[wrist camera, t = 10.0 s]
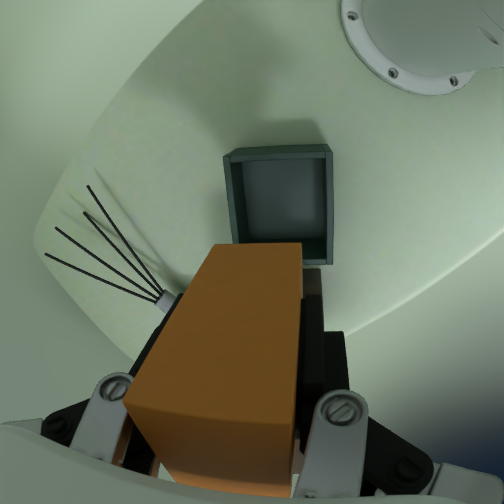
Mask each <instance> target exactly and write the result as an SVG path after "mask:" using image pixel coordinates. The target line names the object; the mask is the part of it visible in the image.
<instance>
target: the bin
mask: <svg viewBox="0 0 504 504" xmlns="http://www.w3.org/2000/svg"><path fill="white" fill-rule="evenodd" d="M223 164H224V173H225V181H226V190H227V198H228V207H229V215H230V223H231V232H232V240H233V244H251V243H302V265H326V264H327V265H333V236H334V189H333V152H332V150H331V149H330V148H329V146H328V145H327V144H311V145H283V146H264V147H249V148H236V149H235V150H233V151H231V152H230V153H228V154H226V155H225V156H223Z"/></svg>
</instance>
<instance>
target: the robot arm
mask: <svg viewBox="0 0 504 504" xmlns="http://www.w3.org/2000/svg"><path fill="white" fill-rule="evenodd" d="M349 16H352V17H353V18H354V20H350V19H349V18H348V17H349ZM341 19H342V24H343V28H344V31H345V34H346V36H347V38H348V40H349V42H350V44H351V46H352V48H353V50H354V51H355V52H356V54H357V55H358V57H359V58H360V59H361V60H362V61H363V62H364V64H365V65H366V66H367V67H368V68H369V69H370V70H371V71H372V72H374V73H375V74H376V75H378V76H379V77H380V78H381V79H383V80H384V81H386V82H388V83H390V84H391V85H393V86H395V87H397V88H399V89H402V90H404V91H407V92H410V93H415V94H420V95H443V94H447V93H451V92H454V91H456V90H458V89H460V88H461V87H463V86H465V85H466V84H467V83H468V82H469V81H470V80H471V79H472V77H473V76H474V74H475V72H476V71H477V70H484V69H493V68H503V67H504V0H342V2H341ZM389 71H391V72H392V73H393V77H390V76H389V74H388V72H389ZM450 79H451V81H452V84H451V83H450ZM183 295H184V293H179V295H178V296H177V298H176V299H175V301H174V302H173V304H172V306H171V307H170V309H169V311H168V312H167V314H166V315H165V317H164V319H163V320H162V322H161V324H160V325H159V326H158V327H157V328H156V329H155V330H154V332H153V333H152V335H151V337H150V338H149V340H148V342H147V343H146V345H145V347H144V348H143V350H142V351H141V353H140V355H139V356H138V358H137V360H136V361H135V363H134V365H133V366H132V368H131V370H130V372H129V373H123V372H116V373H112V374H109V375H107V376H105V377H104V378H103V379H101V380H100V381H99V383H98V384H97V386H96V388H95V390H94V392H93V394H92V396H91V398H89V399H87V400H85V401H82V402H79V403H77V404H74V405H72V406H69V407H66V408H64V409H61V410H58V411H56V412H54V413H52V414H50V415H49V416H48V417H46V419H45V420H43V419H42V418H39V419H31V420H21V421H11V422H5V423H2V424H1V425H0V504H502V501H503V498H504V485H503V482H502V481H501V480H500V479H499V478H498V477H496V476H494V475H489V474H485V473H481V472H477V471H473V470H469V469H465V468H461V467H457V466H454V465H450V464H447V463H442V465H439V464H436V463H433V462H432V460H431V459H430V457H429V456H428V455H427V454H426V453H425V452H423V451H421V450H420V449H418V448H417V447H415V446H413V445H412V444H410V443H408V442H407V441H405V440H404V439H402V438H401V437H399V436H398V435H396V434H395V433H393V432H391V431H390V430H388V429H387V428H385V427H384V426H382V425H381V424H379V423H378V422H376V421H375V420H373V419H372V418H370V417H369V416H368V404H367V402H366V401H365V399H364V398H363V397H362V396H361V395H360V394H358V393H356V392H354V391H350V388H349V377H348V367H347V357H346V350H345V349H346V348H345V339H344V332H343V331H328V332H323V317H322V299H321V294H306V299H301V311H300V332H299V350H298V366H297V384H296V433H295V439H300V448H299V451H300V452H301V453H302V454H303V455H304V457H303V461H302V465H301V469H300V473H299V477H298V480H297V484H296V487H295V491H294V494H293V498H283V497H267V496H256V495H246V494H237V493H230V492H223V491H216V490H210V489H205V488H199V487H194V486H189V485H184V484H180V483H175V482H171V481H166V480H163V479H159V478H157V477H158V472H159V467H160V463H161V461H160V460H159V459H158V457H157V456H156V454H155V453H154V452H153V450H152V449H151V447H150V446H149V444H148V443H147V441H146V440H145V438H144V437H143V435H142V434H141V432H140V431H139V429H138V428H137V426H136V424H135V423H134V421H133V420H132V418H131V416H130V415H129V413H128V411H127V410H126V408H125V406H124V405H123V403H122V400H123V398H124V396H125V394H126V392H127V391H128V389H129V387H130V385H131V383H132V382H133V380H134V378H135V376H136V375H137V373H138V371H139V369H140V368H141V366H142V364H143V362H144V361H145V359H146V357H147V355H148V354H149V352H150V350H151V349H152V347H153V345H154V343H155V342H156V340H157V338H158V337H159V335H160V333H161V331H162V330H163V328H164V326H165V325H166V323H167V321H168V320H169V318H170V316H171V315H172V313H173V311H174V310H175V308H176V306H177V305H178V303H179V301H180V300H181V298H182V296H183Z"/></svg>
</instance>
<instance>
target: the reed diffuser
mask: <svg viewBox="0 0 504 504" xmlns="http://www.w3.org/2000/svg"><path fill="white" fill-rule="evenodd" d="M86 187H87V188H88V190H89V191H90V193H91V195H92V196H93V198H94V199H95V201H96V202H97V204H98V205H99V207H100V208H101V210H102V211H103V213H104V214H105V216H106V217H107V219H108V220H109V222H110V223H111V224H112V226H113V227H114V229H115V230H116V232H117V233H118V235H119V236H120V237H121V239H122V240H123V242H124V243H125V244H126V246H127V247H128V249H129V250H130V251H131V253H132V254H133V255H134V257H135V258H136V259H137V261H138V262H139V264H140V265H141V266H142V268H143V269H144V270H145V272H146V273H147V274H148V276H149V277H150V278H151V279H152V281H153V282H154V283H155V285H156V286H157V287H158V289H159V290H160V291H161V292H162V293H161V292H160V291H159V290H158V289H157V288H156V287H155V286H154V285H153V284H152V283H151V282H150V281H149V280H148V279H147V278H146V277H145V276H144V275H143V274H142V273H141V272H140V271H139V270H138V269H137V268H136V267H135V266H134V265H133V264H132V263H131V262H130V261H129V260H128V259H127V258H126V257H125V256H124V255H123V253H122V252H121V251H120V250H119V249H118V248H117V247H116V246H115V245H114V244H113V243H112V242H111V241H110V240H109V238H108V237H107V236H106V235H105V234H104V233H103V232H102V231H101V230H100V228H99V227H98V226H97V225H96V224H95V223H94V222H93V221H92V219H91V218H90V217H89V216H88V215H87V214H86V213H85V212H83V214H84V215H85V216H86V217H87V219H88V220H89V221H90V222H91V223H92V224H93V225H94V227H95V228H96V229H97V230H98V231H99V232H100V233H101V234H102V236H103V237H104V238H105V239H106V240H107V241H108V242H109V243H110V244H111V245H112V247H113V248H114V249H115V250H116V251H117V252H118V253H119V254H120V255H121V256H122V257H123V258H124V259H125V260H126V261H127V263H128V264H129V265H130V266H131V267H132V268H133V269H134V270H135V271H136V272H137V273H138V274H139V275H140V276H141V277H142V278H143V279H144V280H145V281H146V282H147V283H148V284H149V285H150V286H151V287H152V288H153V289H154V290H155V291H156V292H157V293H158V294H159V297H157V296H155V295H154V294H152V293H151V292H149V291H147V290H146V289H144V288H143V287H141V286H140V285H138V284H137V283H135V282H134V281H132V280H131V279H129V278H128V277H126V276H125V275H123V274H122V273H120V272H119V271H117V270H116V269H114V268H113V267H111V266H110V265H108V264H107V263H106V262H104V261H103V260H101V259H100V258H98V257H97V256H96V255H94V254H93V253H91V252H90V251H89V250H87V249H86V248H84V247H83V246H82V245H80V244H79V243H78V242H76V241H75V240H73V239H72V238H71V237H69V236H68V235H67V234H65V233H64V232H63V231H61V230H60V229H59V228H57V227H55V229H56V230H57V231H58V232H60V233H61V234H62V235H64V236H65V237H66V238H68V239H69V240H70V241H72V242H73V243H74V244H76V245H77V246H78V247H80V248H81V249H83V250H84V251H85V252H87V253H88V254H89V255H91V256H92V257H94V258H95V259H97V260H98V261H99V262H101V263H102V264H104V265H105V266H107V267H108V268H109V269H111V270H112V271H114V272H115V273H117V274H118V275H120V276H121V277H123V278H124V279H126V280H127V281H129V282H130V283H132V284H133V285H135V286H136V287H138V288H139V289H141V290H142V291H144V292H145V293H147V294H149V295H150V296H152V297H153V298H155V299H156V301H155V300H152V299H150V298H147V297H145V296H142V295H140V294H137V293H135V292H133V291H130V290H128V289H125V288H123V287H121V286H118V285H116V284H113V283H111V282H109V281H106V280H104V279H102V278H100V277H97V276H95V275H93V274H90V273H88V272H86V271H84V270H82V269H79V268H77V267H75V266H73V265H71V264H69V263H66V262H64V261H62V260H60V259H58V258H56V257H54V256H52V255H50V254H48V253H45V255H46V256H48V257H50V258H52V259H54V260H56V261H58V262H60V263H62V264H64V265H67V266H69V267H71V268H73V269H75V270H77V271H80V272H82V273H84V274H86V275H88V276H91V277H93V278H95V279H97V280H100V281H102V282H104V283H107V284H109V285H111V286H114V287H116V288H118V289H121V290H123V291H125V292H128V293H130V294H133V295H135V296H138V297H140V298H143V299H145V300H148V301H150V302H153V303H155V304H154V305H156V306H157V307H158V308H159V309H161V310H162V311H163V312H165V313H166V314H167V312H168V311H169V309H170V307H171V306H172V304H173V302H174V301H175V299H176V298H177V297H175V296H174V295H173V294H171V293H170V292H168V291H167V290H166V289H165V290H164V291H163V289H162V288H161V287H160V285H159V284H158V283H157V282H156V280H155V279H154V278H153V276H152V275H151V274H150V272H149V271H148V270H147V268H146V267H145V266H144V264H143V263H142V262H141V260H140V259H139V258H138V256H137V255H136V254H135V252H134V251H133V249H132V248H131V247H130V245H129V244H128V242H127V241H126V240H125V238H124V237H123V235H122V234H121V233H120V231H119V230H118V228H117V227H116V225H115V224H114V223H113V221H112V220H111V218H110V217H109V215H108V214H107V212H106V211H105V209H104V208H103V206H102V205H101V203H100V202H99V200H98V199H97V197H96V196H95V194H94V193H93V191H92V190H91V188H90V186H89V185H87V186H86Z"/></svg>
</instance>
